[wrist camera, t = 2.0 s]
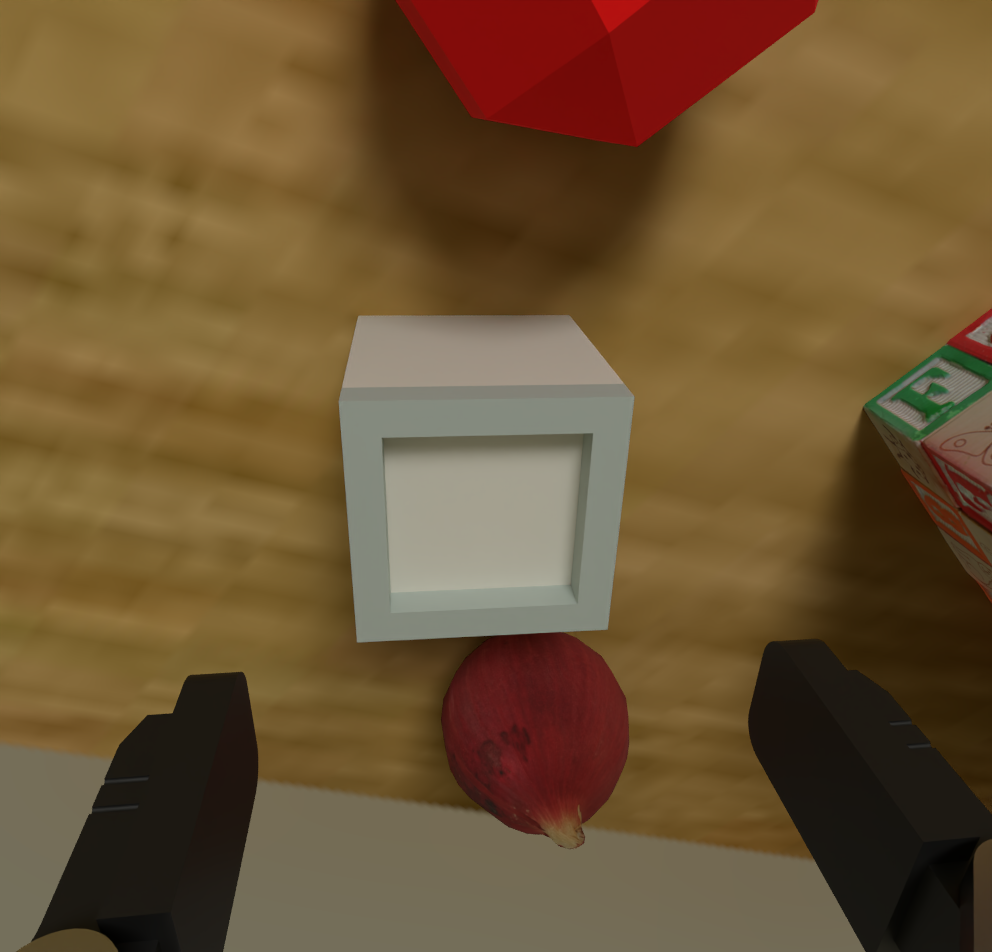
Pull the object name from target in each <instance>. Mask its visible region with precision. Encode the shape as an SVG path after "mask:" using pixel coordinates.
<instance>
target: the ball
mask: <svg viewBox="0 0 992 952" xmlns="http://www.w3.org/2000/svg"><path fill="white" fill-rule="evenodd" d="M395 1H396V2H397V4H398V5H399V7H400V8H401V10H402V11H403V13H404V14H405V16H406V17H407V19H408V21H409V22H410V24H411V25H412V27H413V28H414V30H415V31H416V33H417V34H418V36H419V37H420V39H421V40H422V42H423V44H424V45H425V47H426V48H427V50H428V51H429V53H430V54H431V56H432V57H433V59H434V60H435V62H436V64H437V65H438V67H439V68H440V70H441V71H442V73H443V74H444V76H445V77H446V79H447V80H448V82H449V83H450V85H451V87H452V88H453V90H454V91H455V93H456V94H457V96H458V97H459V99H460V100H461V102H462V103H463V105H464V106H465V108H466V110H467V111H468V113H469V114H470V116H471V117H473V118H478V119H483V120H489V121H494V122H499V123H505V124H510V125H516V126H521V127H526V128H532V129H537V130H542V131H548V132H553V133H558V134H564V135H569V136H575V137H580V138H585V139H591V140H596V141H603V142H609V143H616V144H622V145H628V146H635V147H638V146H639V145H640V144H642V143H643V142H644V141H646V140H647V139H648V138H650V137H651V136H652V135H654V134H655V133H656V132H657V131H659V130H660V129H661V128H663V127H664V126H665V125H667V124H668V123H669V122H671V121H672V120H673V119H675V118H676V117H677V116H679V115H680V114H681V113H683V112H684V111H685V110H686V109H688V108H689V107H690V106H692V105H693V104H694V103H696V102H697V101H698V100H700V99H701V98H702V97H704V96H705V95H706V94H708V93H709V92H710V91H712V90H713V89H714V88H715V87H717V86H718V85H719V84H721V83H722V82H723V81H725V80H726V79H727V78H729V77H730V76H731V75H733V74H734V73H735V72H737V71H738V70H739V69H741V68H742V67H743V66H744V65H746V64H747V63H748V62H750V61H751V60H752V59H754V58H755V57H756V56H758V55H759V54H760V53H762V52H763V51H764V50H766V49H767V48H768V47H770V46H771V45H772V44H773V43H775V42H776V41H777V40H779V39H780V38H781V37H783V36H784V35H785V34H787V33H788V32H789V31H791V30H792V29H793V28H795V27H796V26H797V25H799V24H800V23H801V22H802V21H804V20H805V19H806V18H808V17H809V16H810V15H812V14H813V13H814V12H815V9H816V6H817V3H818V0H395Z"/></svg>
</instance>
